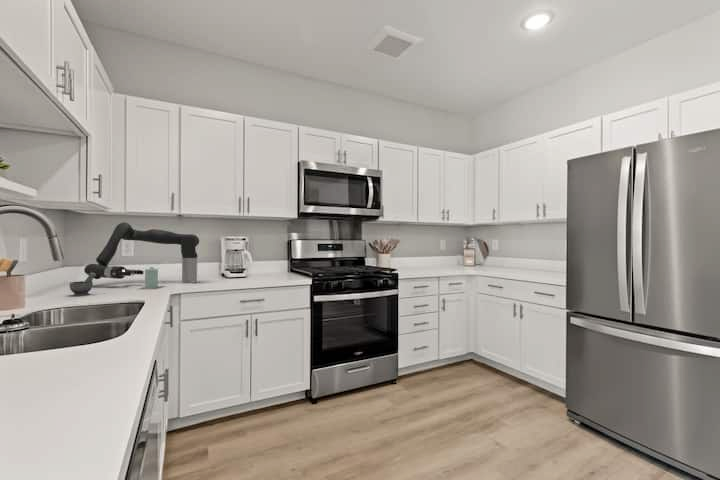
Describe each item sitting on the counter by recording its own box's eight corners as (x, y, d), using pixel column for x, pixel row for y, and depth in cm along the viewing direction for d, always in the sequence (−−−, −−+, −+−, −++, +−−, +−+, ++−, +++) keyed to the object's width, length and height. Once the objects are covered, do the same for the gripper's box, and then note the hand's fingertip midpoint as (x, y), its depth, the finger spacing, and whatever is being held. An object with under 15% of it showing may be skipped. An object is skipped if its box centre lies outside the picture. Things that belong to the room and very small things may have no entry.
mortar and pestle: (65, 297, 177) (65, 273, 177) (73, 294, 186) (74, 271, 186) (92, 296, 180) (92, 273, 180) (99, 293, 189) (99, 271, 189)
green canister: (148, 286, 208) (148, 266, 208) (159, 286, 209) (159, 266, 209) (142, 288, 202) (143, 267, 202) (154, 288, 203) (154, 267, 203)
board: (147, 288, 212) (147, 286, 212) (166, 288, 213) (166, 286, 213) (135, 291, 199) (135, 289, 199) (156, 291, 200) (156, 289, 200)
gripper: (104, 267, 206) (126, 267, 202) (126, 265, 219) (146, 266, 215) (104, 279, 206) (126, 280, 202) (125, 277, 219) (146, 278, 215)
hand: (136, 273), depth 208 cm, fingers open, 8 cm apart
